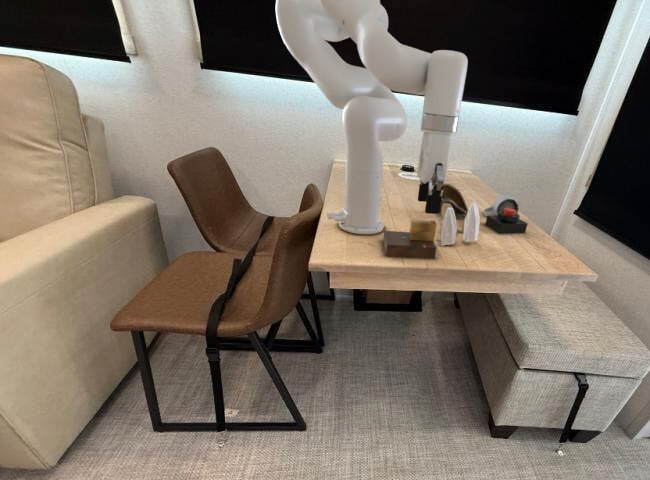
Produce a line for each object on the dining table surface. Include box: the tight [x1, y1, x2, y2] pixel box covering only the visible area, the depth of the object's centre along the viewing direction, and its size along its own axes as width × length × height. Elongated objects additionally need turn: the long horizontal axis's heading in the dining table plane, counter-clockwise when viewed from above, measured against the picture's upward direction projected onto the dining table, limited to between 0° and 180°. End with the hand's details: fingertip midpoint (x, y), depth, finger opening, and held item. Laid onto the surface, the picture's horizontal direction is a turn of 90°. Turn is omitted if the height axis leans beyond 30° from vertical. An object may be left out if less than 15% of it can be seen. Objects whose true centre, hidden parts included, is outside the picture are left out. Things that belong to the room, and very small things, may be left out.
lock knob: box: [409, 219, 437, 242], centre depth 80 cm, size 6×2×5 cm, turn 96°
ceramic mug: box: [483, 194, 520, 217], centre depth 115 cm, size 11×8×8 cm
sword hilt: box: [439, 182, 469, 233], centre depth 101 cm, size 10×24×15 cm
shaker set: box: [440, 202, 481, 247], centre depth 88 cm, size 12×4×11 cm, turn 107°
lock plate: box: [382, 230, 441, 260], centre depth 82 cm, size 14×10×3 cm
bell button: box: [503, 208, 516, 216], centre depth 103 cm, size 4×4×2 cm
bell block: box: [484, 211, 529, 235], centre depth 105 cm, size 10×8×5 cm
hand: (427, 206), depth 77 cm, fingers open, 9 cm apart
